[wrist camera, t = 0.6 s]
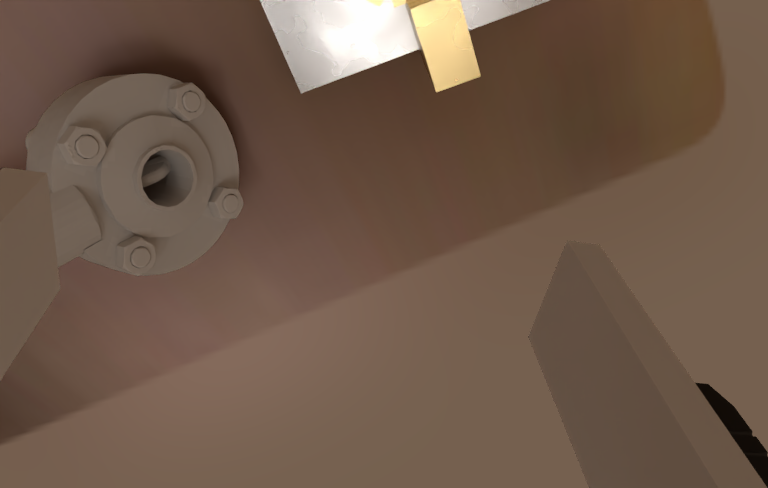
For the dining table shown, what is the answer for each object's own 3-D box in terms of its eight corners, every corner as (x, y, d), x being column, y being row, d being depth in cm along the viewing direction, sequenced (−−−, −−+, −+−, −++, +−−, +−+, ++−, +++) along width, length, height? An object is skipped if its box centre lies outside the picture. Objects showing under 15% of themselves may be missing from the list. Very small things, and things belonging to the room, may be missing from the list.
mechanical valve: (272, 220, 36) (29, 379, 27) (123, 194, 47) (-85, 300, 38) (211, 45, 31) (-111, 165, 22) (61, 63, 42) (-195, 147, 33)
